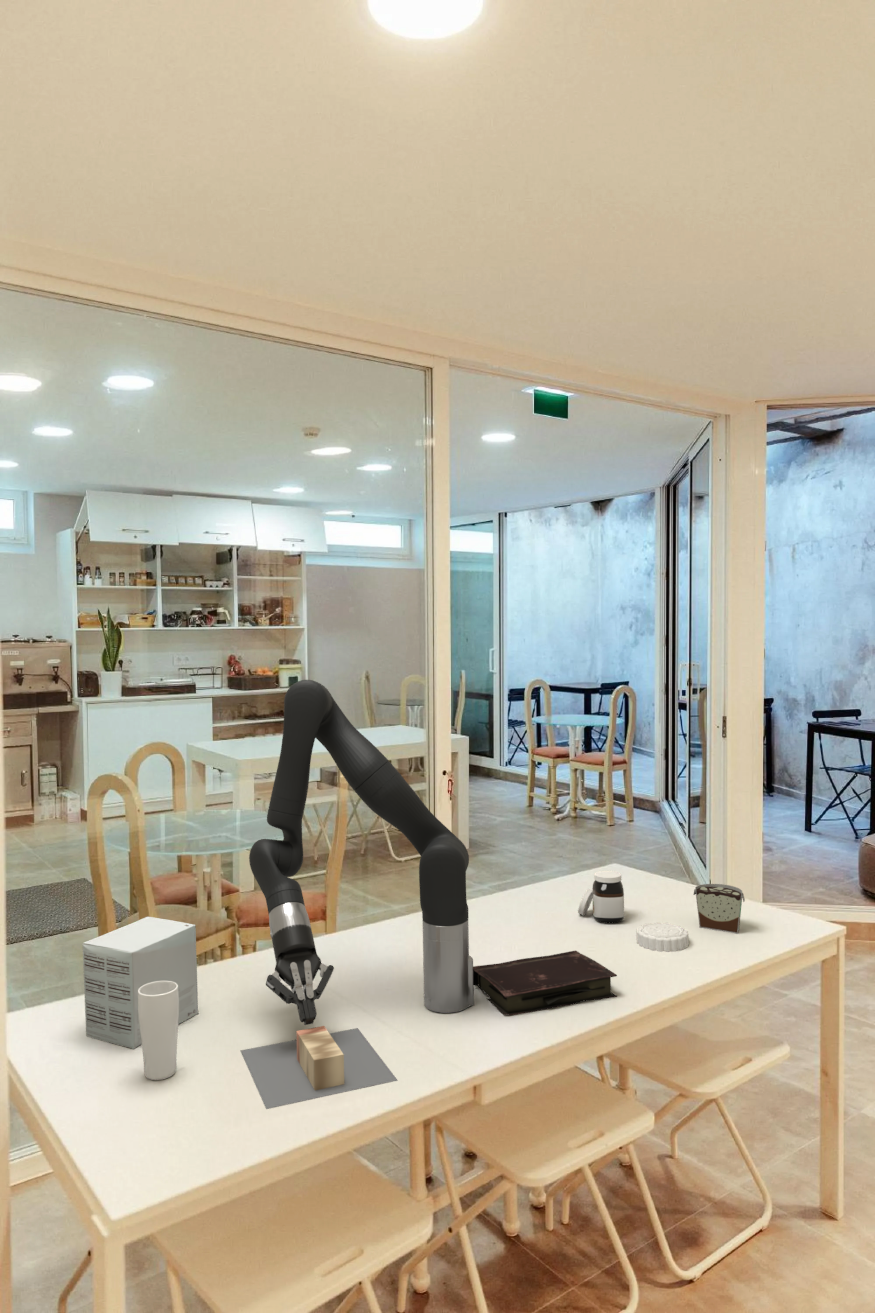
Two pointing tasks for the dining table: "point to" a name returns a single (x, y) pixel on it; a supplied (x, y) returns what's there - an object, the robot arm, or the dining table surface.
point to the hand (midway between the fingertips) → (309, 1022)
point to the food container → (719, 907)
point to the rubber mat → (289, 1083)
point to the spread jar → (605, 898)
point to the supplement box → (136, 975)
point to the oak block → (320, 1057)
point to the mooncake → (662, 937)
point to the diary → (543, 982)
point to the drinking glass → (159, 1027)
